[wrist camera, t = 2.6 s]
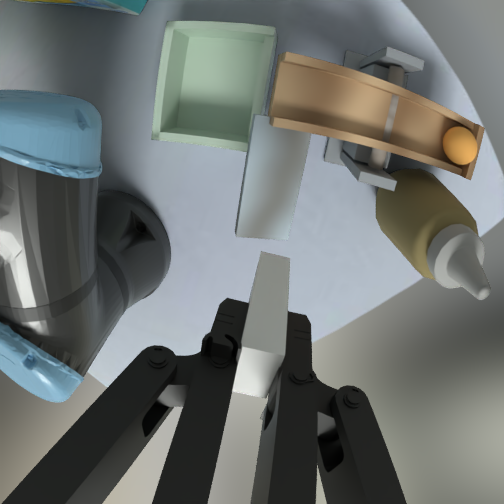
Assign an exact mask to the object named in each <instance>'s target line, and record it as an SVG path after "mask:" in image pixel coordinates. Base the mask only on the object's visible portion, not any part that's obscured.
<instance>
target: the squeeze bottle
mask: <svg viewBox="0 0 504 504" xmlns="http://www.w3.org/2000/svg"><path fill="white" fill-rule="evenodd" d="M389 175H390V176H391V177H392V178H394V179H395V180H396V181H397V183H396V186H395V190H394V191H392V190H388V189H385V188H381V187H379V188H378V191H377V197H376V219H377V221H378V223H379V226H380V228H381V230H382V232H383V233H384V234H385V235H386V236H387V237H388V238H389V239H390V240H391V241H392V243H393V244H394V245H395V246H396V247H397V248H398V249H399V251H400V252H401V253H402V254H403V255H404V256H405V257H406V259H407V260H408V261H409V262H410V263H411V264H412V266H413V267H414V268H415V269H416V270H417V271H418V272H419V273H420V274H421V275H422V276H423V277H426V278H430V279H433V280H436V281H437V282H438V283H439V284H440V285H441V286H443V287H446V288H457V287H461V286H462V287H464V288H465V289H466V290H467V291H469V292H470V293H471V294H473V295H474V296H475V297H476V298H477V299H479V300H483V299H485V298H486V297H487V296H488V295H489V293H490V291H491V287H490V284H489V282H488V279H487V277H486V275H485V273H484V270H483V268H482V264H483V259H484V255H485V250H484V244H483V242H482V240H481V239H480V237H479V236H478V230H477V225H476V221H475V220H474V218H473V217H472V215H471V214H470V213H469V211H468V210H467V209H466V208H465V207H464V206H463V205H462V204H461V203H460V201H459V200H458V199H457V198H456V197H455V196H454V195H453V194H452V193H451V192H450V191H449V190H448V189H447V188H446V187H445V186H444V185H443V184H442V183H441V182H440V181H439V180H438V179H437V178H436V177H435V176H434V175H433V174H431V173H429V172H427V171H425V170H422V169H420V168H419V169H403V170H398V171H395V172H393V173H391V174H389Z"/></svg>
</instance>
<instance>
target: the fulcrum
mask: <svg viewBox="0 0 504 504" xmlns="http://www.w3.org/2000/svg"><path fill="white" fill-rule="evenodd" d="M390 66H396V67H399V68H402V69H404V70H405V72H404V73H409V72H415V71H421V70H423V67H424V60H421V59H419V58H417V57H414V56H412V55H409V54H407V53H404V52H401V51H399V50H396V49H393V48H390V47H386V48H384V49H382V50H380V51H378V52H376V53H374V54H372V55H370V56H366V55H362V54H359V53H355V52H352V51H348V50H347V51H346V53H345V59H344V64H343V67H347V68H350V69H353V70H356V71H359V72H362V73H365V74H368V75H371V76H373V77H376V78H379V79H381V80H384V81H387V79H388V73H389V68H390ZM407 79H408V75H405V74H404V77H403V83H402V88H404V89H406V85H407ZM371 151H372V147H369V146H365V145H361V144H357V143H353V142H349V141H345V140H340V139H336V138H332V137H329V139H328V143H327V148H326V152H325V157H324V161H325V162H329V163H333V164H338V165H342V166H346V167H347V168H348V169H349V170H350V171H351V173H352V174H353V175H354V177H355V178H356V179H357V180H358V181H359V182H363V183H366V184H370V185H374V186H377V187H381V188H385V189H388V190H392V191H394V190H395V186H396V183H397V181H396V180H395V179H394V178H392V177H391V176H390V175H389V174H388V173H387V172H385V171H384V170H383V169H382V170H377V169H374V168H371V167H369V166H368V163H369V159H370V155H371ZM390 155H391V152H387V154H386V158H385V161H384V165H383V168H386V169H387V166H388V163H389V159H390Z"/></svg>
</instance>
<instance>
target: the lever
mask: <svg viewBox="0 0 504 504" xmlns="http://www.w3.org/2000/svg"><path fill="white" fill-rule="evenodd" d="M404 72H405V70H404V69H402V68H399V67H396V66H390V68H389V73H388V79H387V81H384V80H381V79H379V78H376V77H373V76H371V75H368V74H365V73H362V72H359V71H356V70H353V69H350V68H347V67H343V66H340V65H337V64H333V63H330V62H326V61H323V60H319V59H315V58H311V57H307V56H303V55H299V54H295V53H290V52H284V53H282V54H280V55H278V60H277V66H276V71H275V77H274V82H273V88H272V94H271V99H270V105H269V111H268V116H267V115H260V114H253V118H252V124H251V130H250V136H249V143H248V149H247V155H246V161H245V168H244V174H243V180H242V187H241V193H240V200H239V207H238V213H237V220H236V227H235V234H236V237H247V238H260V239H273V240H286V241H288V237H289V232H290V228H291V224H292V220H293V215H294V211H295V207H296V202H297V198H298V193H299V189H300V184H301V180H302V175H303V171H304V166H305V161H306V157H307V152H308V147H309V142H310V138H311V133H312V134H317V135H322V136H327V137H332V138H336V139H340V140H345V141H349V142H353V143H357V144H361V145H365V146H369V147H372V151H371V155H370V159H369V163H368V166H369V167H371V168H374V169H377V170H382V169H383V165H384V161H385V158H386V154H387V152H391V153H394V154H398V155H401V156H404V157H408V158H411V159H414V160H417V161H420V162H423V163H427V164H430V165H432V166H435V167H438V168H441V169H444V170H447V171H450V172H452V173H455V174H458V175H460V176H462V177H464V178H466V179H469V180H471V178H472V175H473V171H474V168H475V164H476V161H477V157H478V153H479V150H480V146H481V142H482V138H483V133H484V129H485V128H484V127H482V126H480V125H478V124H475V123H473V122H471V121H469V120H467V119H466V118H464V117H462V116H460V115H458V114H457V113H455V112H453V111H451V110H449V109H447V108H445V107H443V106H441V105H439V104H437V103H435V102H433V101H431V100H429V99H427V98H424V97H422V96H420V95H418V94H416V93H413V92H411V91H409V90H406V89H404V88H402V83H403V77H404ZM453 127H463V128H466V129H467V130H469V131H470V132H471V133H472V134H473V136H474V137H475V139H476V142H477V154H476V157H475V158H474V160H473V161H471V162H470V163H468V164H465V165H460V164H456V163H454V162H452V161H451V160H450V159H449V158H448V157H447V155H446V154H445V152H444V149H443V138H444V135H445V133H446V132H447V131H448V130H449V129H451V128H453Z"/></svg>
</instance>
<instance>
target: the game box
mask: <svg viewBox="0 0 504 504" xmlns="http://www.w3.org/2000/svg"><path fill="white" fill-rule="evenodd" d="M14 1H21V2H28V3H42V4H61V5H73V6H82V7H91V8H98V9H104V10H110V11H116V12H122V13H127V14H132V15H136V16H138V15H139V14H140V13H141V11H142V10H143V8H144V6H145V4H146V2H147V0H14Z"/></svg>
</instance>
